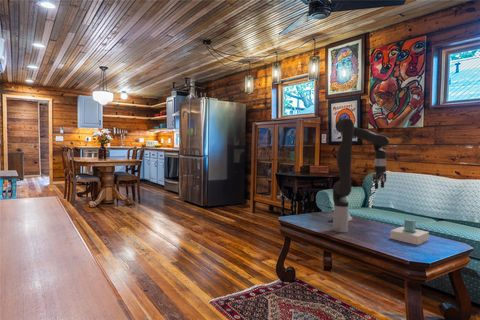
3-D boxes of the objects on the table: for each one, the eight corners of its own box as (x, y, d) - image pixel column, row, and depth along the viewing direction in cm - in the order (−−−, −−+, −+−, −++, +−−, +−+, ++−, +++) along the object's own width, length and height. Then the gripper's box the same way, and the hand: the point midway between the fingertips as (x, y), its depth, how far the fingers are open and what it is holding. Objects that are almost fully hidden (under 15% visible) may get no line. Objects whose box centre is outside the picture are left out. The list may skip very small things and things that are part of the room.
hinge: (341, 222, 233) (337, 209, 235) (336, 223, 236) (332, 210, 238) (353, 219, 244) (349, 206, 246) (347, 220, 247) (344, 207, 249)
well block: (417, 244, 183) (418, 236, 182) (390, 238, 195) (390, 230, 195) (428, 239, 193) (428, 231, 193) (401, 233, 205) (402, 226, 205)
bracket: (412, 239, 191) (413, 221, 190) (403, 237, 194) (404, 219, 194) (415, 237, 193) (415, 220, 193) (406, 236, 197) (407, 218, 196)
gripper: (379, 164, 225) (379, 186, 225) (369, 165, 216) (369, 188, 216) (390, 165, 219) (389, 188, 220) (380, 165, 210) (379, 189, 211)
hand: (379, 188), depth 218 cm, fingers open, 8 cm apart
